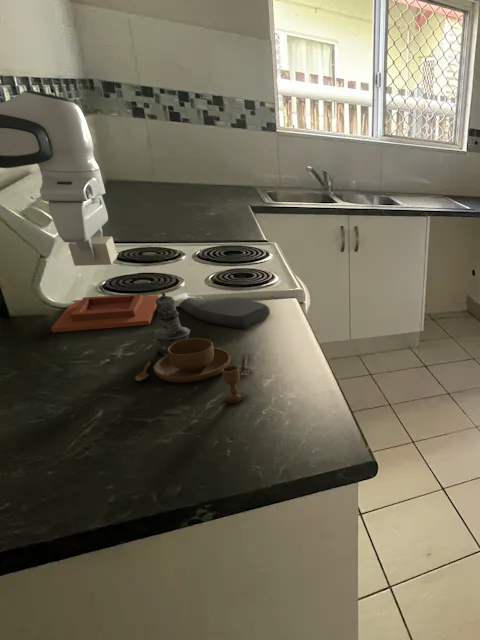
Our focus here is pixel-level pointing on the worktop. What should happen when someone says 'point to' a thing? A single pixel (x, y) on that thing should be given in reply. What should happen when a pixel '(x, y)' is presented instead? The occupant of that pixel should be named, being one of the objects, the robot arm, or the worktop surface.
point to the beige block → (103, 252)
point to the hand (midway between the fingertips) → (94, 253)
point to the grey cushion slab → (224, 310)
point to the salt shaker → (169, 324)
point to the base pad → (107, 312)
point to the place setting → (197, 365)
